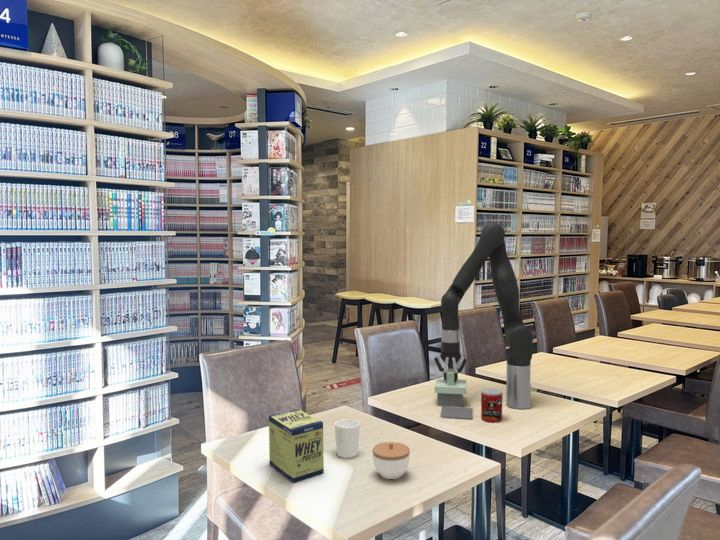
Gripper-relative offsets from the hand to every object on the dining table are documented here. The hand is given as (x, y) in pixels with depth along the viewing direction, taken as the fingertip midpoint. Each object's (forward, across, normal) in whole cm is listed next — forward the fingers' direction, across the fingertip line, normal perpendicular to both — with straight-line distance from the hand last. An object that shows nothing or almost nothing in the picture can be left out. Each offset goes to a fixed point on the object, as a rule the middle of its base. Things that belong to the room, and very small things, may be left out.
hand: (450, 381), depth 220 cm
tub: (+9, 0, 0) cm, 9 cm away
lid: (+3, 0, 0) cm, 3 cm away
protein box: (+9, +42, +72) cm, 84 cm away
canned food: (+9, -16, +17) cm, 25 cm away
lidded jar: (+9, +14, +70) cm, 72 cm away
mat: (+9, -3, +13) cm, 16 cm away
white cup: (+9, +30, +58) cm, 66 cm away
